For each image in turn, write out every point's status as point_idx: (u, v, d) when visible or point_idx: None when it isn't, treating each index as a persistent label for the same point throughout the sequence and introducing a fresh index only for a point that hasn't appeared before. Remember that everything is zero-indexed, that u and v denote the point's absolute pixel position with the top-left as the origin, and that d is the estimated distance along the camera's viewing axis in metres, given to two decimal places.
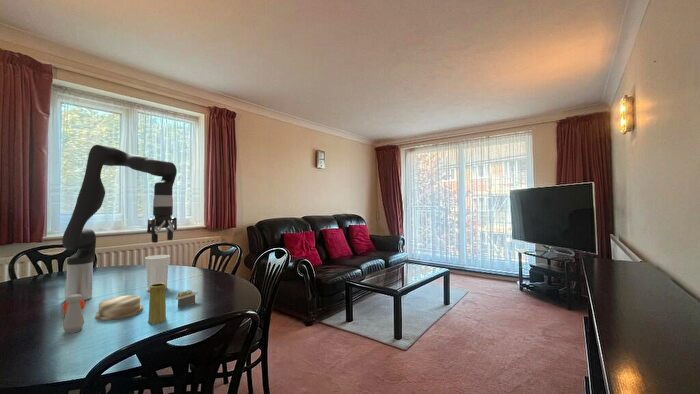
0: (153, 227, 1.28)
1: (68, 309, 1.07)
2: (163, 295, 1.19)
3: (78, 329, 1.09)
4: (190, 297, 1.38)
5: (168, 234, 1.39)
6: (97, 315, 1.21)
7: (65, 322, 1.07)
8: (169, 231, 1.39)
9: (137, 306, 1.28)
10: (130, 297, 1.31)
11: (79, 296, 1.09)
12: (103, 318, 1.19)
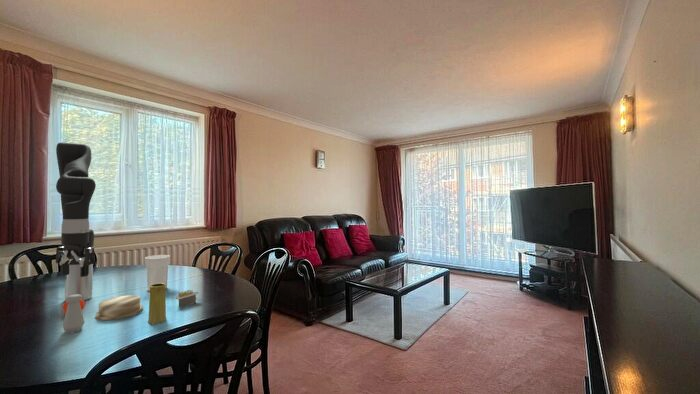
0: None
1: (68, 309, 1.07)
2: (163, 295, 1.19)
3: (78, 329, 1.09)
4: (191, 297, 1.38)
5: (64, 268, 1.09)
6: (97, 315, 1.21)
7: (65, 322, 1.07)
8: (65, 264, 1.10)
9: (137, 306, 1.28)
10: (130, 297, 1.31)
11: (79, 296, 1.09)
12: (103, 318, 1.19)
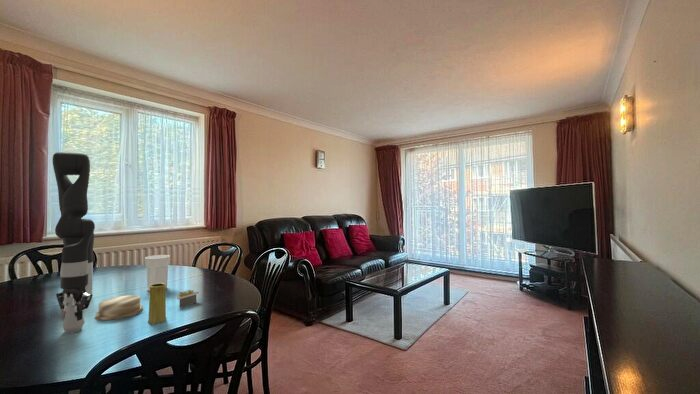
0: None
1: (68, 309, 1.07)
2: (163, 295, 1.19)
3: (78, 329, 1.09)
4: (191, 297, 1.39)
5: None
6: (97, 315, 1.21)
7: (65, 322, 1.07)
8: None
9: (137, 306, 1.28)
10: (130, 297, 1.31)
11: None
12: (103, 318, 1.19)
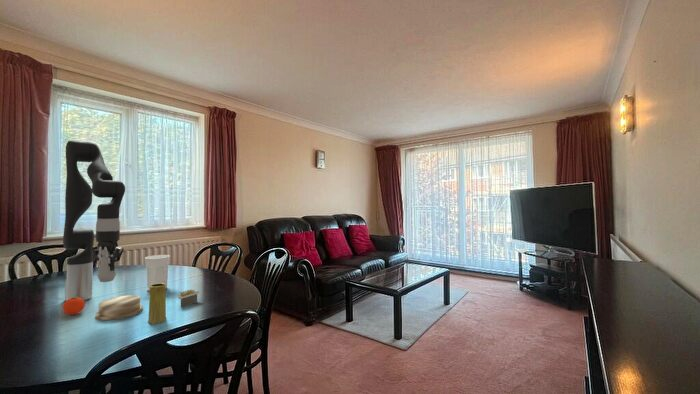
0: None
1: (102, 260, 1.20)
2: (163, 295, 1.19)
3: (111, 279, 1.21)
4: (192, 296, 1.39)
5: None
6: (97, 315, 1.21)
7: (100, 272, 1.19)
8: None
9: (137, 306, 1.28)
10: (130, 297, 1.31)
11: None
12: (103, 318, 1.19)
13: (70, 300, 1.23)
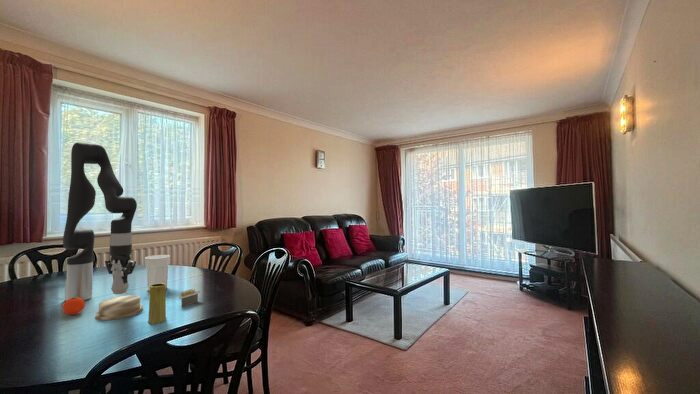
0: None
1: (116, 274, 1.25)
2: (163, 295, 1.19)
3: (124, 291, 1.26)
4: (193, 296, 1.39)
5: None
6: (97, 315, 1.21)
7: (113, 284, 1.24)
8: None
9: (137, 306, 1.28)
10: (130, 297, 1.31)
11: None
12: (103, 318, 1.19)
13: (70, 300, 1.23)
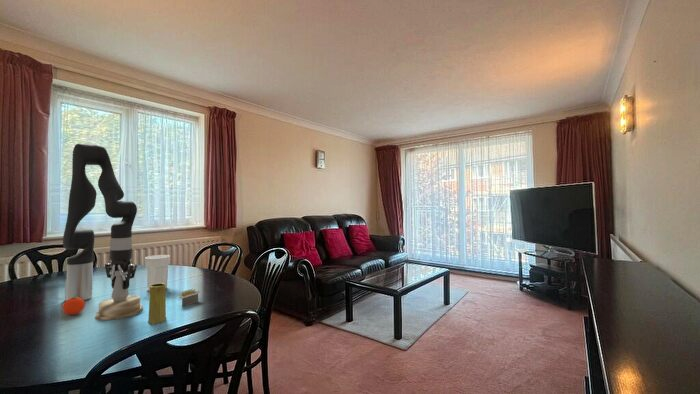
0: None
1: (116, 281, 1.25)
2: (163, 295, 1.19)
3: (124, 299, 1.26)
4: (193, 296, 1.40)
5: (114, 282, 1.27)
6: (97, 315, 1.21)
7: (114, 292, 1.25)
8: (115, 278, 1.27)
9: (137, 306, 1.28)
10: (130, 297, 1.31)
11: (125, 271, 1.27)
12: (103, 318, 1.19)
13: (70, 300, 1.23)
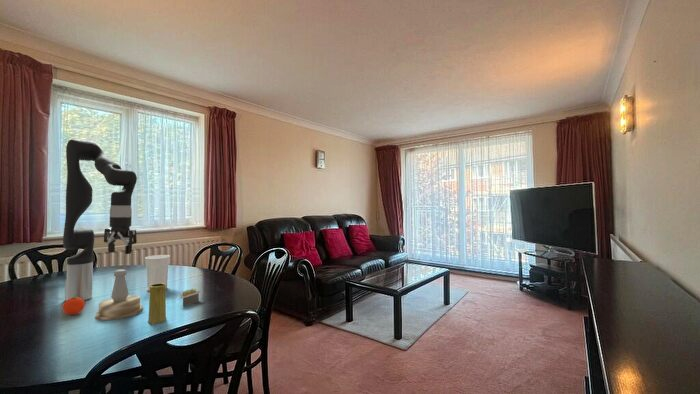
0: None
1: (116, 281, 1.25)
2: (163, 295, 1.19)
3: (124, 299, 1.26)
4: (194, 295, 1.40)
5: (111, 246, 1.30)
6: (97, 315, 1.21)
7: (113, 292, 1.24)
8: (112, 243, 1.30)
9: (137, 306, 1.28)
10: (130, 297, 1.31)
11: (124, 271, 1.27)
12: (103, 318, 1.19)
13: (70, 300, 1.23)
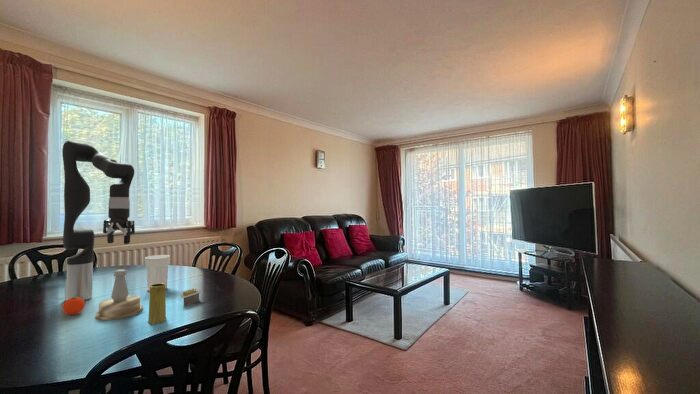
0: None
1: (116, 281, 1.25)
2: (163, 295, 1.19)
3: (124, 299, 1.26)
4: (194, 295, 1.40)
5: (110, 237, 1.35)
6: (97, 315, 1.21)
7: (113, 292, 1.24)
8: (111, 234, 1.35)
9: (137, 306, 1.28)
10: (130, 297, 1.31)
11: (124, 271, 1.27)
12: (103, 318, 1.19)
13: (70, 300, 1.23)
